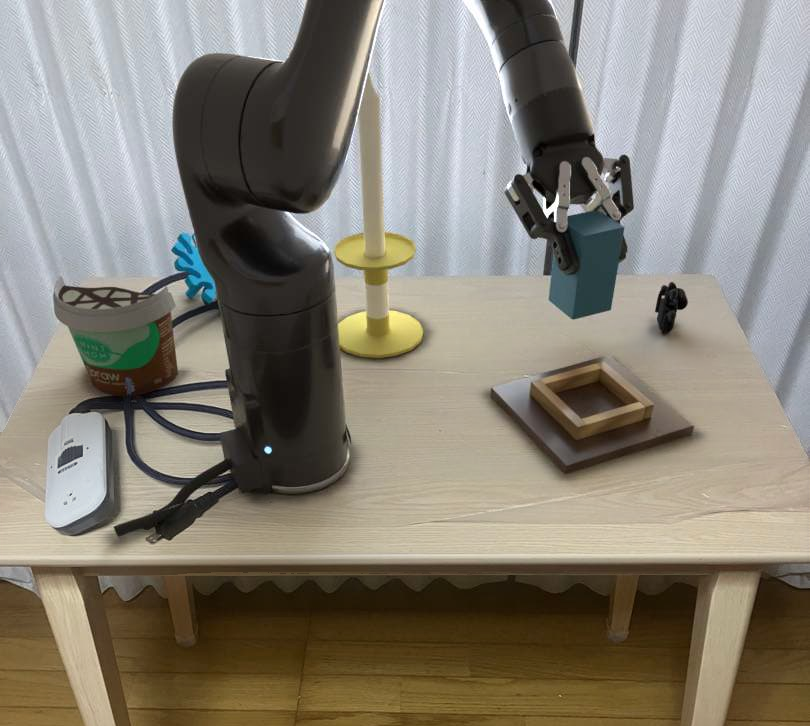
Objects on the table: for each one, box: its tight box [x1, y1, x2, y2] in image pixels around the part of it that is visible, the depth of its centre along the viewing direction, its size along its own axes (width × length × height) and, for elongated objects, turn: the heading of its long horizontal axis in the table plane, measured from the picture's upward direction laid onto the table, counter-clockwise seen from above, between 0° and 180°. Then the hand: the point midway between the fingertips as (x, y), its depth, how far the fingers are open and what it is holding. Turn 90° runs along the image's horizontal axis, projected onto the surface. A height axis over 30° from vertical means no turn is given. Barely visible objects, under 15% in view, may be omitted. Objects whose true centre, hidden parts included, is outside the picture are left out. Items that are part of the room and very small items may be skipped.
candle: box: [333, 71, 424, 359], centre depth 86 cm, size 10×10×27 cm
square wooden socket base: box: [490, 354, 695, 475], centre depth 83 cm, size 14×14×2 cm
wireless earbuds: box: [654, 281, 689, 336], centre depth 94 cm, size 7×2×5 cm, turn 176°
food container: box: [52, 276, 179, 397], centre depth 85 cm, size 12×6×10 cm, turn 77°
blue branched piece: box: [170, 232, 216, 304], centre depth 101 cm, size 11×6×10 cm
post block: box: [548, 210, 625, 321], centre depth 89 cm, size 5×5×9 cm
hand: (596, 266), depth 87 cm, fingers closed on post block, 4 cm apart
